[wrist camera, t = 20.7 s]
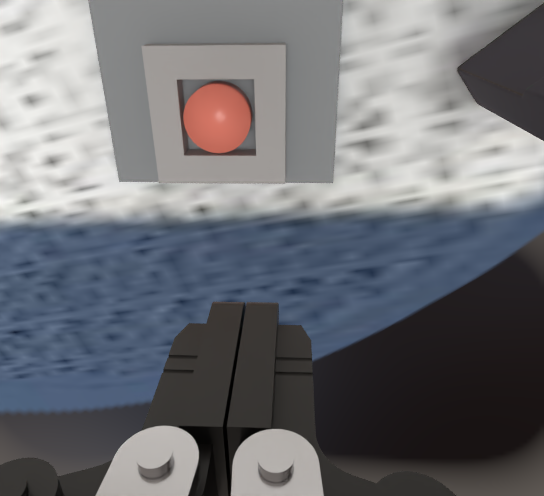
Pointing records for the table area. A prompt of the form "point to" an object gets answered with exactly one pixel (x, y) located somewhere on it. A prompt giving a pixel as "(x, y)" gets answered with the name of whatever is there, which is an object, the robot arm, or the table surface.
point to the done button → (218, 117)
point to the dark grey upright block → (512, 74)
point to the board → (221, 67)
